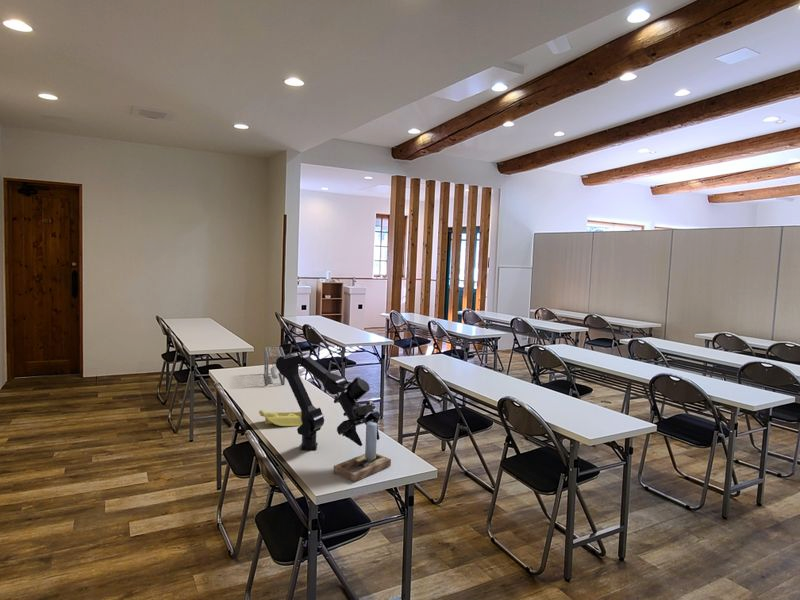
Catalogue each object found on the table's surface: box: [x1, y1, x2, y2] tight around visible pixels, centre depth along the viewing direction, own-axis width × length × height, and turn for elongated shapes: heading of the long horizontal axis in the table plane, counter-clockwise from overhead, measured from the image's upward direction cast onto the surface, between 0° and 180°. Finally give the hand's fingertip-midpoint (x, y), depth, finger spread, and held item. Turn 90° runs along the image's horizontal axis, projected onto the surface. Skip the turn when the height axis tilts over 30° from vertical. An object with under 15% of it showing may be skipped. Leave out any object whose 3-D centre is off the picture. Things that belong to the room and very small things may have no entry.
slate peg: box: [362, 422, 378, 468], centre depth 187 cm, size 5×5×16 cm
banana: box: [258, 409, 302, 427], centre depth 231 cm, size 20×7×10 cm
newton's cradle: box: [263, 346, 286, 386], centre depth 309 cm, size 30×10×18 cm, turn 17°
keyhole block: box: [333, 453, 392, 483], centre depth 185 cm, size 19×10×3 cm, turn 140°
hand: (370, 442), depth 187 cm, fingers open, 9 cm apart
